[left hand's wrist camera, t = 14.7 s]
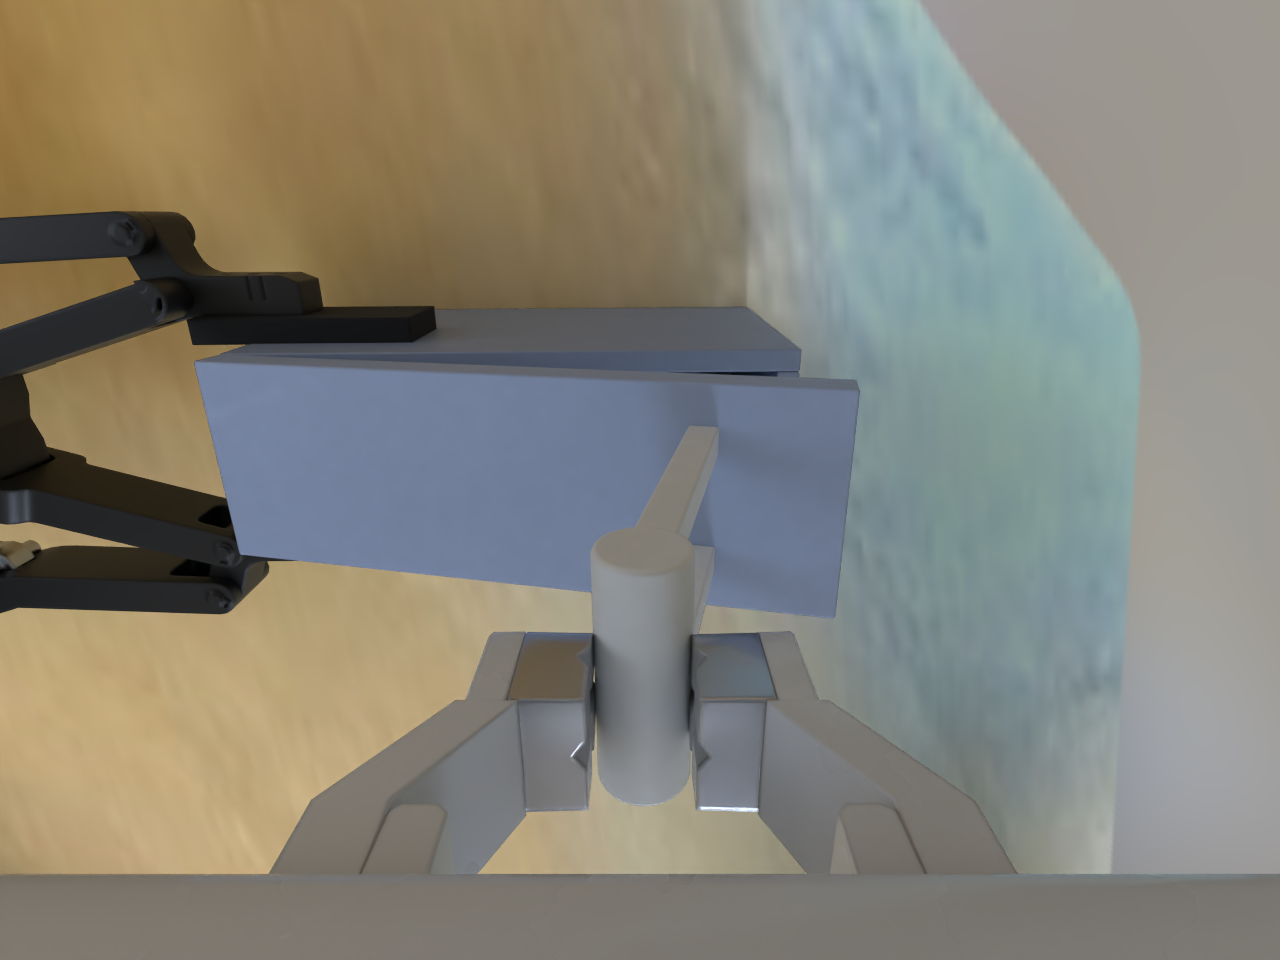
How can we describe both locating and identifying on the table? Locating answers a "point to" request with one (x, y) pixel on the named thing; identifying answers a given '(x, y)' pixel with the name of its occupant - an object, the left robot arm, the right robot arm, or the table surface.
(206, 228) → the table surface
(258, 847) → the table surface
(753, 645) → the left robot arm
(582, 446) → the lid
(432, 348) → the chest
